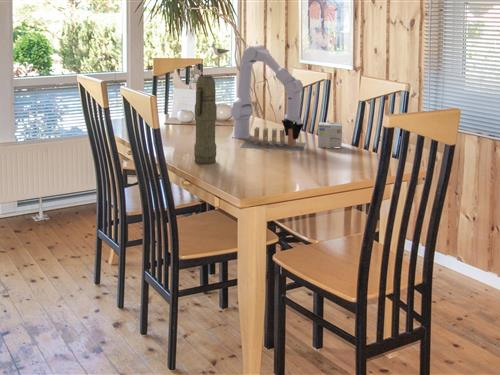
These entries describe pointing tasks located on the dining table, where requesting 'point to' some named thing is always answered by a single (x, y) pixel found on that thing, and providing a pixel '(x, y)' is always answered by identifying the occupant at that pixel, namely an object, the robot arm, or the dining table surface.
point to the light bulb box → (329, 134)
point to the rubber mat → (269, 146)
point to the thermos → (205, 120)
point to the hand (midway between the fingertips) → (291, 137)
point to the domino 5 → (291, 138)
